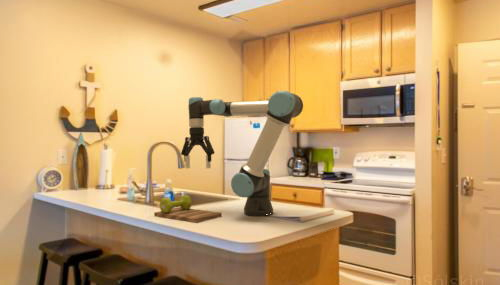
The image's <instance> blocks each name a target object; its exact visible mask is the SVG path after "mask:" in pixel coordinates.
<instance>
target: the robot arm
mask: <svg viewBox="0 0 500 285" xmlns="http://www.w3.org/2000/svg"><path fill="white" fill-rule="evenodd" d="M187 107H188V125H189V130H188V131H189V132H188V133H189V135H190V136H186V137H185V138H184V144H183V146H182V149H181V153H180V155H182V156H183V158H184V161H183V162H184V163H185V169H191V156H190V153H191V152H192V150H193V148H194V147H195V146H200V147H201V148H202V150H203V152H205V154H206V155H205V167H206V169H211V166H212V165H211V162H212V155H214V154H215V150H214V148H213V145H212V144H211V141H210V137H209V135H205V128H204V127H205V124H204V123H205V121H204V120H205V118H204V116H221V117H226V118H230V117H243V116H244V117H246V116H250V117H251V116H266V117H267V119H266V121H265V123H264V126H263V128H262V130H261V132H260V134H259V136H258V138H257V140H256V143H255V144H254V146H253V149H252V150H251V153H250V155H249V157H248V160H247V161H246V163H243V164H242V165H241V166H240V169H239V171H238V172H237V173H235V174H234V175H233V176H232V178H231V181H230V186H231V189H232V192H233V193H234V194H235V195H236V196H237V197H240V198H247V199H246V201H245V205H244V207H243V213H244V215H247V216H254V217H262V216H263V217H264V216H265V215H266V214H270V213H272V212H273V213H274V207H273V205H272V201H271V196H270V194H271V190H270V189H271V175H270V174H271V173H270V170H269V169H267V168H265V167H266V165H267V163H268V162H269V159H270V157H271V155H272V153H273V151H274V148H275V146H276V145H277V143H278V141H279V139H280V137H281V134H282V132H283V130H284V128H285V127H286V126H289V125H290V123H291V121H292V119H293V118H294V119H295V118H296V117H298V116H299V115H301V113H302V112H303V110H304V102H303V100H302V98H301V96H299V95H297V94H296V93H292V92H290V91H288V90H278V91H275V92H274V93H272V95H270V97H269V99H268V100H267V99H266V100H265V99H264V100H249V101H247V100H245V101H224V100H223V99H221V98H220V99H217V98H214V99H207V100H204V98H203V97H201V96H195V97H194V96H192V97H190V98H188V106H187ZM266 216H267V215H266Z"/></svg>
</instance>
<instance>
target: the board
mask: <svg viewBox="0 0 500 285" xmlns="http://www.w3.org/2000/svg"><path fill="white" fill-rule="evenodd" d="M153 215H154V217H156V218H157V217H158V218H162V219H163V218H165V219H171V220H176V221H182V222H187V223H195V224H197V223H198V224H199V223H201V222H206V221H209V220H212V219H217V218H220V217H222V212H219V211H210V210H203V209H197V208H195V209H194V208H190V209H187V210H185V209H182V208H181V207H180V206H179V207H173V208H172V210H171V212H170V213H163V212H162V211H161V210H160V211H155V212H154V214H153Z"/></svg>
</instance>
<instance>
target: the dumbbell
mask: <svg viewBox="0 0 500 285" xmlns="http://www.w3.org/2000/svg"><path fill="white" fill-rule="evenodd" d="M192 205H193V202H192V198H191V196H190V195H187V194H183V195H181V196H180V198H179V200H173V201H172V199H171V198H169V197H163V198H161V200H160V202H159V209H160V211H162V212H163V213H170V212H171V210H172V209H173V208H179V207H181V208H182V209H185V210H187V209H191V207H192Z"/></svg>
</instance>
